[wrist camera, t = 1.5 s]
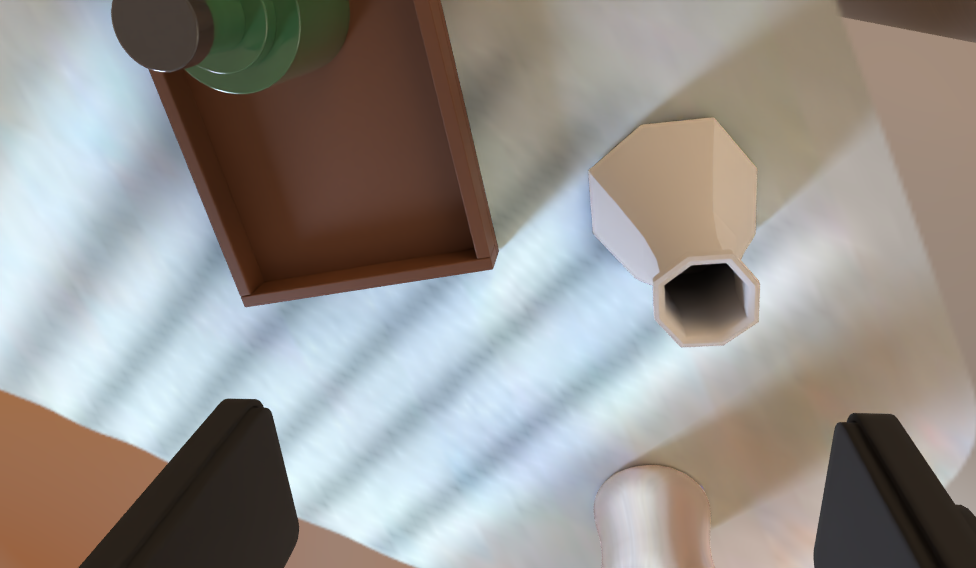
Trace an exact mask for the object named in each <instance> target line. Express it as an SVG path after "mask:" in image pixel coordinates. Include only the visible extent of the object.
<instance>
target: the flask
mask: <svg viewBox="0 0 976 568" xmlns="http://www.w3.org/2000/svg"><path fill="white" fill-rule="evenodd" d="M588 175H589V188H590V201H591V215H592V228H593V234H594V235H595V236H596V237H597V238H598V239H599V240H600V242H601V243H602V244H603V245H604V246H605V247H606V248H607V249H608V250H609V251H610V252H611V253H612V254H613V255H614V256H615V257H616V259H617V260H618V261H619V262H620V263H621V264H622V265H623V266H624V267H625V268H626V269H627V270H628V271H629V272H630V273H631V274H632V275H633V277H634V278H636V279H638V280H639V281H642V282H644V283H647V284H649V285H652V286H653V306H654V319H655V321H656V322H657V323H658V324H659V325H660V326H661V327H662V328H663V329H664V330H665V331H666V332H667V333H668V334H669V335H670V336H671V337H672V338H673V339H674V341H675V342H676V343H677V344H678V345H679V346H680V347H700V346H722V345H725V344H726V343H728V342H729V341H731V340H732V339H734V338H735V337H737V336H738V335H740V334H741V333H743V332H744V331H746V330H747V329H749V328H750V327H752V326H753V325H755V324H756V323H758V322H759V298H760V283H759V280H758V279H757V278H756V277H755V276H754V275H753V273H752V272H751V271H750V270H749V269H748V268H747V267H746V266H745V264H744V263H743V262H742V261H741V259H742V256H743V254H744V252H745V250H746V249H747V247H748V246H749V244H750V243H751V241H752V240H753V238H754V236H755V233H756V197H757V168H756V166H755V165H754V164H753V163H752V162H751V161H750V159H749V158H748V157H747V156H746V155H745V153H744V152H743V151H742V150H741V149H740V148H739V146H738V145H737V144H736V143H735V142H734V140H733V139H732V138H731V137H730V136H729V134H728V133H727V132H726V131H725V130H724V129H723V127H722V126H721V125H720V124H719V123H718V121H717V120H716V119H715V118H714V117H711V118H702V119H692V120H682V121H673V122H663V123H653V124H644V125H640V126H639V127H638V128H637V129H636V130H635V131H634V132H632V133H631V134H630V135H629V136H628V137H627V138H625V139H624V140H623V141H622V142H621V143H620V144H618V145H617V146H616V147H615V148H614V149H613V150H612V151H610V152H609V153H608V154H607V155H606V156H605V157H603V158H602V159H601V160H600V161H599V162H598V163H597V164H595V165H594V166H593V167H592V168H591V169H590V170H588Z"/></svg>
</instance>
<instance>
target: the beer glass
mask: <svg viewBox="0 0 976 568" xmlns="http://www.w3.org/2000/svg"><path fill="white" fill-rule="evenodd" d="M594 519H595V524H596V528H597V532H598V536H599V539H600V544H601V551H602V566H601V568H715V566H714V562H713V558H712V554H711V548H710V528H711V510H710V504H709V501H708V498H707V496H706V494H705V492H704V490H703V489H702V488H701V486H700V485H699V484H698V483H697V482H696V481H695V480H694V479H692V478H691V477H690V476H688V475H686V474H685V473H683V472H681V471H679V470H676V469H673V468H670V467H666V466H660V465H640V466H634V467H630V468H627V469H624V470H622V471H620V472H618V473H616V474H614V475H613V476H611V477H610V478H609V479H607V480H606V481H605V482H604V483H603V485H602V486H601V487H600V489H599V490H598V492H597V495H596V497H595V501H594Z"/></svg>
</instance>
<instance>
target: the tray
mask: <svg viewBox="0 0 976 568" xmlns="http://www.w3.org/2000/svg"><path fill="white" fill-rule="evenodd" d="M349 8H350V22H349V29H348V33H347V36H346V39H345V41H344V44H343V46H342V48H341V49H340V51H339V52H338V54H337V55H336V56H335V57H334V59H332V60H331V61H330V62H329V63H328V64H327V65H325V66H324V67H322V68H320V69H318V70H316V71H314V72H311V73H308V74H306V75H303V76H300V77H297V78H295V79H292V80H289V81H287V82H284V83H281V84H278V85H276V86H273V87H270V88H268V89H265V90H262V91H259V92H256V93H251V94H230V93H225V92H221V91H218V90H216V89H213V88H211V87H208V86H207V85H205V84H203V83H201V82H200V81H198V80H197V79H195V78H194V77H193V76H191V75H190V74H189V73H188V72H187V71H186V70H185V69H182V70H178V71H174V72H164V73H163V72H157V71H153V70H150V69H149V71H150V74H151V76H152V79H153V81H154V84H155V86H156V89H157V91H158V94H159V96H160V99H161V101H162V103H163V106H164V108H165V111H166V113H167V116H168V118H169V121H170V123H171V126H172V128H173V131H174V133H175V136H176V138H177V141H178V143H179V146H180V148H181V150H182V153H183V155H184V158H185V160H186V163H187V165H188V168H189V170H190V173H191V175H192V178H193V180H194V183H195V185H196V188H197V190H198V193H199V195H200V197H201V200H202V202H203V205H204V207H205V210H206V212H207V215H208V217H209V220H210V222H211V225H212V227H213V230H214V232H215V235H216V237H217V240H218V242H219V244H220V247H221V249H222V252H223V254H224V257H225V259H226V262H227V264H228V267H229V269H230V272H231V274H232V277H233V279H234V282H235V284H236V287H237V289H238V291H239V294H240V296H241V299H242V301H243V304H244V306H245V307H251V306H257V305H264V304H270V303H277V302H283V301H290V300H296V299H303V298H309V297H316V296H322V295H329V294H335V293H342V292H348V291H355V290H361V289H368V288H374V287H381V286H387V285H394V284H400V283H407V282H413V281H420V280H426V279H433V278H439V277H446V276H452V275H459V274H465V273H472V272H478V271H485V270H491V269H493V267H494V264H495V261H496V258H497V255H498V252H499V249H498V245H497V241H496V237H495V232H494V228H493V224H492V219H491V215H490V211H489V207H488V202H487V198H486V194H485V189H484V185H483V181H482V177H481V172H480V168H479V164H478V159H477V155H476V151H475V147H474V142H473V138H472V134H471V129H470V125H469V121H468V117H467V112H466V108H465V104H464V99H463V95H462V91H461V86H460V82H459V78H458V74H457V69H456V65H455V61H454V56H453V52H452V48H451V44H450V39H449V35H448V31H447V26H446V22H445V18H444V14H443V9H442V5H441V1H440V0H349Z"/></svg>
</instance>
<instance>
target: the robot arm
mask: <svg viewBox="0 0 976 568" xmlns="http://www.w3.org/2000/svg"><path fill="white" fill-rule="evenodd" d="M298 534H299V523H298V518H297V514H296V510H295V506H294V502H293V498H292V494H291V489H290V485H289V481H288V477H287V473H286V469H285V465H284V461H283V457H282V453H281V448H280V444H279V440H278V436H277V432H276V428H275V424H274V420H273V416H272V413H271V411H270V410H269V409H268V408H264V407H263V405H262V403H261V402H260V401H259V400H256V399H225V400H223V401H222V402H221V403H220V404H219V405H218V406H217V407H216V408H215V410H214V411H213V412H212V413H211V414H210V415H209V417H208V418H207V419H206V420H205V421H204V422H203V424H202V425H201V426H200V427H199V428H198V429H197V430H196V432H195V433H194V434H193V435H192V436H191V437H190V439H189V440H188V441H187V442H186V443H185V444H184V446H183V447H182V448H181V449H180V450H179V451H178V453H177V454H176V455H175V456H174V457H173V458H172V460H171V461H170V462H169V463H168V464H167V465H166V466H165V468H164V469H163V470H162V471H161V472H160V473H159V475H158V476H157V477H156V478H155V479H154V481H153V482H152V483H151V484H150V485H149V486H148V487H147V489H146V490H145V491H144V492H143V493H142V494H141V496H140V497H139V498H138V499H137V500H136V501H135V503H134V504H133V505H132V506H131V507H130V508H129V510H128V511H127V512H126V513H125V514H124V515H123V517H122V518H121V519H120V520H119V521H118V522H117V523H116V525H115V526H114V527H113V528H112V529H111V530H110V532H109V533H108V534H107V535H106V536H105V537H104V539H103V540H102V541H101V542H100V543H99V544H98V545H97V547H96V548H95V549H94V550H93V551H92V552H91V554H90V555H89V556H88V557H87V558H86V560H85V561H84V562H83V563H82V564H81V565H80V567H79V568H284V567H285V565H286V563H287V561H288V559H289V557H290V555H291V553H292V551H293V549H294V547H295V545H296V542H297V539H298ZM814 567H815V568H976V517H975V516H974V515H973V513H972V512H971V511H970V510H969V509H968V508H966V507H964V506H962V505H955V503H954V502H953V501H952V499H951V498H950V496H949V495H948V493H947V492H946V490H945V489H944V487H943V486H942V484H941V483H940V481H939V480H938V478H937V477H936V475H935V474H934V472H933V471H932V469H931V468H930V466H929V465H928V463H927V462H926V460H925V459H924V457H923V456H922V454H921V453H920V451H919V450H918V448H917V447H916V445H915V444H914V442H913V441H912V439H911V438H910V437H909V435H908V434H907V432H906V431H905V429H904V428H903V426H902V425H901V423H900V422H899V420H898V419H897V418H896V417H895V416H894V415H892V414H867V413H853V414H851V415H850V416H849V418H848V420H847V422H839V423H837V425H836V426H835V430H834V436H833V441H832V447H831V453H830V459H829V465H828V471H827V476H826V482H825V488H824V494H823V500H822V506H821V512H820V517H819V523H818V529H817V535H816V541H815V547H814Z"/></svg>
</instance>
